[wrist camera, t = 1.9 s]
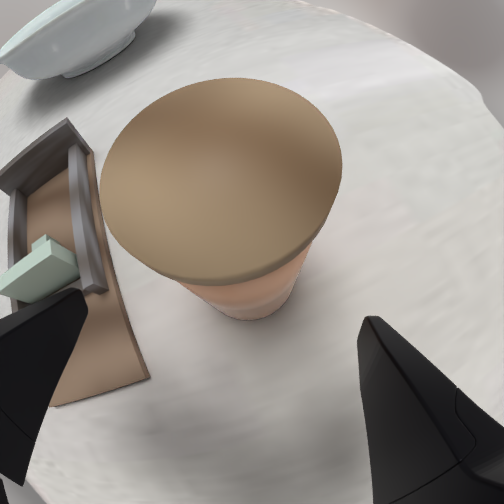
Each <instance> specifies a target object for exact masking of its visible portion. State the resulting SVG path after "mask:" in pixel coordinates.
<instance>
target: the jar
mask: <svg viewBox="0 0 504 504" xmlns="http://www.w3.org/2000/svg"><path fill="white" fill-rule="evenodd" d="M341 176H342V156H341V149H340V146H339V142H338V139H337V137H336V134H335V132H334V130H333V128H332V126H331V125H330V123H329V122H328V120H327V119H326V118H325V116H324V115H323V114H322V113H321V112H320V111H319V110H318V109H317V108H316V107H315V106H314V105H313V104H311V103H310V102H309V101H308V100H306V99H305V98H303V97H302V96H300V95H299V94H297V93H295V92H293V91H291V90H289V89H287V88H285V87H282V86H279V85H277V84H273V83H270V82H266V81H261V80H255V79H247V78H222V79H214V80H208V81H203V82H198V83H195V84H192V85H188V86H185V87H183V88H180V89H178V90H175V91H173V92H171V93H169V94H167V95H165V96H163V97H161V98H160V99H158V100H156V101H155V102H153V103H152V104H150V105H149V106H147V107H146V108H145V109H143V110H142V111H141V112H140V113H139V114H138V115H136V116H135V117H134V118H133V119H132V120H131V121H130V122H129V123H128V124H127V126H126V127H125V128H124V129H123V130H122V132H121V133H120V134H119V136H118V137H117V138H116V140H115V142H114V143H113V145H112V147H111V149H110V151H109V153H108V155H107V157H106V160H105V163H104V166H103V169H102V173H101V179H100V204H101V210H102V213H103V216H104V219H105V222H106V224H107V226H108V228H109V230H110V232H111V234H112V235H113V236H114V238H115V239H116V240H117V241H118V243H119V244H120V245H121V246H122V247H123V248H124V249H125V250H126V251H127V252H129V253H130V254H131V255H132V256H133V257H135V258H136V259H138V260H139V261H140V262H142V263H143V264H145V265H146V266H148V267H149V268H151V269H152V270H154V271H156V272H157V273H159V274H161V275H163V276H165V277H168V278H170V279H172V280H175V281H177V282H179V283H180V284H181V285H183V286H184V287H185V288H187V289H188V290H190V291H191V292H193V293H194V294H195V295H197V296H198V297H200V298H201V299H203V300H204V301H205V302H207V303H208V304H210V305H211V306H213V307H214V308H216V309H217V310H219V311H220V312H222V313H223V314H225V315H227V316H229V317H232V318H235V319H239V320H256V319H260V318H264V317H266V316H268V315H270V314H272V313H274V312H275V311H277V310H278V309H279V308H280V307H281V306H282V305H283V304H284V303H285V302H286V300H287V299H288V297H289V295H290V293H291V291H292V289H293V287H294V284H295V282H296V280H297V277H298V275H299V272H300V270H301V268H302V265H303V263H304V260H305V258H306V256H307V253H308V251H309V248H310V246H311V243H312V241H313V240H314V238H315V237H316V236H317V234H318V233H319V231H320V230H321V228H322V227H323V225H324V223H325V221H326V219H327V217H328V214H329V212H330V210H331V207H332V205H333V203H334V200H335V198H336V195H337V193H338V190H339V186H340V182H341Z"/></svg>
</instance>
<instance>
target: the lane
mask: <svg viewBox="0 0 504 504" xmlns="http://www.w3.org/2000/svg"><path fill="white" fill-rule="evenodd" d="M0 189H1V190H2V191H3V192H5V193H6V194H7V195H9V196H10V205H9V218H8V270H9V269H10V268H11V267H12V266H14V265H15V264H16V263H18V262H19V261H20V260H22V259H23V258H24V257H26V256H27V255H28V254H30V253H31V252H32V244H33V243H34V242H35V241H37V240H38V239H40V238H41V237H42V236H44V235H45V234H47V235H49V236H50V237H52V238H53V239H55V240H57V241H58V242H60V245H61V246H63V247H64V248H66V249H68V250H69V251H71V252H73V253H75V254H76V255H77V261H78V266H79V272H80V278H78V279H76V280H75V281H73V282H71V283H69V284H67V285H66V286H64V287H62V288H61V289H59V290H57V291H55V292H54V293H52V294H50V295H49V296H52V295H54V294H56V293H58V292H61V291H63V290H65V289H67V288H70V287H74V288H79V289H81V290H82V292H83V295H84V298H85V300H86V303H87V306H88V316H87V318H86V320H85V323H84V325H83V327H82V330H81V332H80V335H79V337H78V340H77V343H76V345H75V348H74V350H73V352H72V354H71V356H70V358H69V361H68V363H67V365H66V367H65V369H64V371H63V373H62V376H61V378H60V380H59V382H58V385H57V387H56V389H55V392H54V394H53V396H52V399H51V401H50V404H49V407H55V406H59V405H63V404H66V403H70V402H74V401H77V400H81V399H84V398H88V397H91V396H94V395H98V394H101V393H104V392H107V391H111V390H114V389H117V388H120V387H123V386H126V385H129V384H132V383H135V382H138V381H141V380H143V379H146V378H149V377H150V375H149V373H148V370H147V368H146V366H145V363H144V361H143V358H142V355H141V353H140V350H139V348H138V345H137V342H136V339H135V337H134V334H133V331H132V328H131V325H130V322H129V319H128V316H127V313H126V310H125V307H124V303H123V300H122V297H121V293H120V290H119V286H118V283H117V279H116V275H115V272H114V268H113V264H112V260H111V256H110V251H109V247H108V243H107V238H106V233H105V228H104V223H103V218H102V212H101V207H100V201H99V194H98V188H97V180H96V173H95V164H94V154H93V151H92V149H91V148H90V147H89V146H88V144H87V143H86V142H85V140H84V139H83V138H82V137H81V135H80V134H79V133H78V131H77V130H76V129H75V127H74V126H73V125H72V123H71V122H70V121H69V119H68V118H65V119H64V120H62V121H61V122H59V123H58V124H57V125H55V126H54V127H52V128H51V129H50V130H48V131H47V132H45V133H44V134H43V135H41V136H40V137H39V138H38V139H36V140H35V141H34V142H32V143H31V144H30V145H29V146H28V147H26V148H25V149H24V150H23V151H22V152H20V153H19V154H18V155H17V156H16V157H15V158H13V159H12V160H11V161H10V162H9V163H8V164H7V165H6V166H5V167H4V168H2V169H1V170H0ZM49 296H47V297H49ZM47 297H45V298H47ZM45 298H44V299H45ZM10 299H11V307H12V313H14V312H16V311H19V310H21V309H23V308H25V307H27V306H29V305H32V304H30V303H26V302H23V301H20V300H17V299H13V298H10ZM42 300H43V299H42Z"/></svg>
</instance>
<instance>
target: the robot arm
mask: <svg viewBox="0 0 504 504" xmlns="http://www.w3.org/2000/svg"><path fill="white" fill-rule="evenodd" d="M87 316H88V306H87V303H86V300H85V298H84V295H83V292H82V290H81V289H79V288H74V287H70V288H67V289H65V290H63V291H61V292H58V293H56V294H54V295H52V296H49V297H47V298H45V299H43V300H40V301H38V302H36V303H34V304H32V305H29V306H27V307H25V308H23V309H21V310H19V311H16V312H14V313H12V314H10V315H8V316H6V317H4V318H2V319H0V473H1V474H3V475H4V476H6V477H7V478H9V479H11V480H12V481H13V482H15V483H17V484H18V485H20V486H23V484H24V481H25V477H26V473H27V470H28V466H29V462H30V459H31V455H32V452H33V449H34V446H35V442H36V439H37V436H38V433H39V430H40V427H41V425H42V422H43V419H44V417H45V414H46V411H47V409H48V406H49V404H50V401H51V399H52V396H53V394H54V392H55V389H56V387H57V385H58V382H59V380H60V378H61V376H62V373H63V371H64V369H65V367H66V365H67V363H68V361H69V358H70V356H71V354H72V352H73V350H74V348H75V345H76V343H77V340H78V337H79V335H80V332H81V330H82V327H83V325H84V323H85V320H86V318H87ZM357 349H358V362H359V378H360V390H361V397H362V403H363V410H364V416H365V423H366V430H367V438H368V446H369V455H370V465H371V476H372V489H373V504H504V427H503V426H502V425H500V424H499V423H498V422H497V421H495V420H494V419H493V418H492V417H490V416H489V415H488V414H487V413H486V412H485V411H483V410H482V409H481V408H480V407H479V406H477V405H476V404H475V403H474V402H473V401H472V400H471V399H470V398H469V397H468V396H467V395H465V394H464V393H463V392H462V391H461V390H460V389H459V388H457V386H456V385H455V384H454V383H453V382H452V381H451V380H450V379H448V378H447V377H446V376H445V375H444V374H443V373H442V372H441V371H440V370H439V369H438V368H437V367H436V366H434V365H433V364H432V363H431V362H430V361H429V360H428V359H427V358H426V357H425V356H423V355H422V354H421V353H420V352H419V351H418V350H417V349H416V348H415V347H414V346H412V345H411V344H410V343H409V342H408V341H407V340H406V339H405V338H403V337H402V336H401V335H400V334H399V333H398V332H397V331H396V330H394V329H393V328H392V327H391V326H390V325H389V324H388V323H386V322H385V321H384V320H383V319H382V318H381V317H379V316H366V317H365V318H364V320H363V323H362V326H361V329H360V332H359V335H358V339H357ZM0 504H9V503H8V500H7V496H6V492H5V489H4V485H3V481H2V479H1V478H0Z"/></svg>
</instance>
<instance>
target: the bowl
mask: <svg viewBox="0 0 504 504" xmlns="http://www.w3.org/2000/svg"><path fill="white" fill-rule="evenodd" d="M155 3H156V0H61V1H59V2H57V3H56V4H54V5H53V6H51V7H50V8H48V9H47V10H45V11H44V12H42V13H41V14H40V15H39V16H37V17H36V18H34V19H33V20H32V21H31V22H29V23H28V24H27V25H26V26H24V27H23V28H22V29H21V30H20V31H18V32H17V34H15V35H14V36H13V37H12V38H11V39H10V40H9V41H8V42H7V43H6V44H5V45H4V46H3V47H2V48H1V49H0V64H4V65H6V66H8V67H9V68H10V69H11V70H13V71H14V72H15V73H16V74H18V75H19V76H21V77H23V78H26V79H31V80H41V79H47V78H51V77H54V76H58V75H60V74H62V76H63V77H65V78H72V77H76V76H79V75H81V74H84V73H86V72H88V71H90V70H92V69H94V68H96V67H98V66H99V65H101V64H103V63H104V62H106V61H108V60H109V59H111V58H112V57H114V56H115V55H117V54H118V53H119V52H121V51H122V50H123V49H124V48H126V47H127V46H128V45H129V44H130V43H131V42H132V41H133V39H134V37H135V32H134V29H136V28H137V27H138V26H139V25H140V24H141V23H142V22H143V21H144V20H145V19H146V17H147V16H148V15H149V14H150V12H151V11H152V9H153V7H154V5H155Z"/></svg>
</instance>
